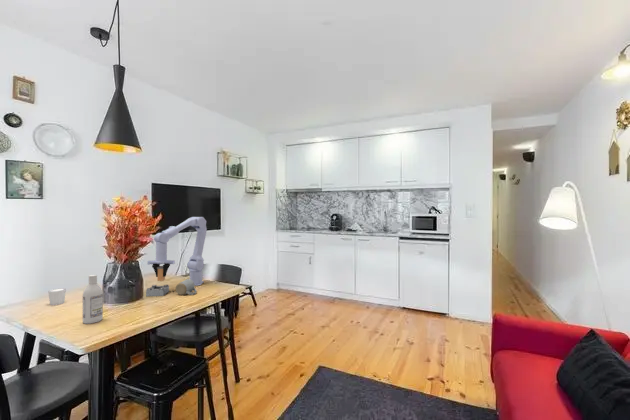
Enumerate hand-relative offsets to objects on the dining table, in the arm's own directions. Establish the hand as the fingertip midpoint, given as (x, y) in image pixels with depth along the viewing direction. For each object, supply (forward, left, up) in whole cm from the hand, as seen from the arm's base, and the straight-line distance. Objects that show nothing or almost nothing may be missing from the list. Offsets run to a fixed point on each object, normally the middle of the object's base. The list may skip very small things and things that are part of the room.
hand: (161, 276), depth 171 cm
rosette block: (+3, -1, -9) cm, 10 cm away
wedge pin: (0, 0, -2) cm, 2 cm away
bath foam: (+43, -12, -10) cm, 45 cm away
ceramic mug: (+4, +16, -10) cm, 19 cm away
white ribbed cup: (+15, -45, -10) cm, 49 cm away
